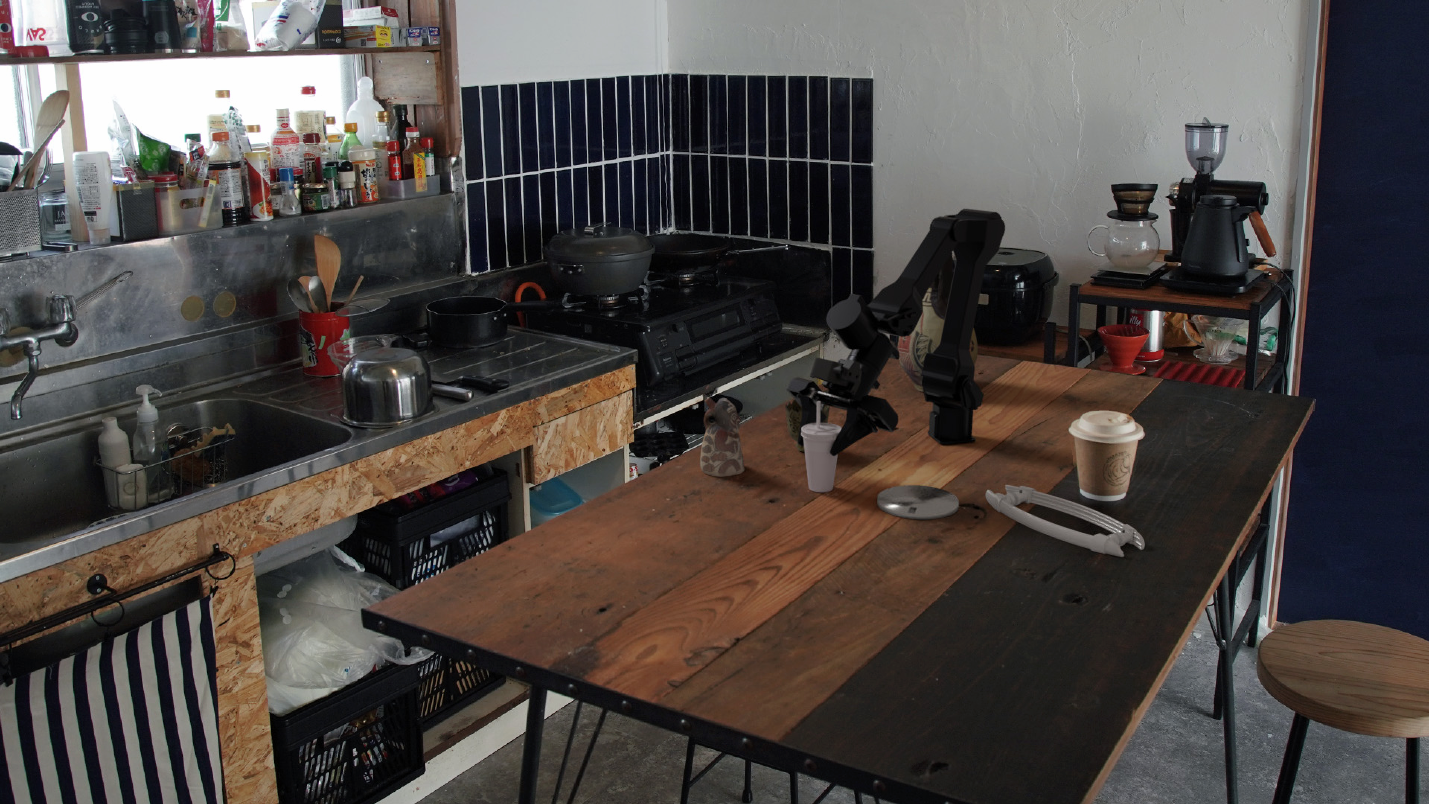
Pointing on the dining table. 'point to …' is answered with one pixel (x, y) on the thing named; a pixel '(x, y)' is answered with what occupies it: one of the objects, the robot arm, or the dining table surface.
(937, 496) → the pad
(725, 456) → the figurine
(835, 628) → the dining table surface
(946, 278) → the ceramic jug
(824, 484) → the smoothie
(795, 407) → the cup
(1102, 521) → the door handle
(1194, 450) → the dining table surface
